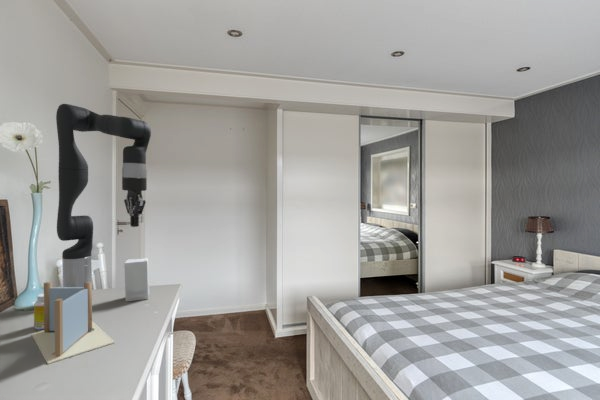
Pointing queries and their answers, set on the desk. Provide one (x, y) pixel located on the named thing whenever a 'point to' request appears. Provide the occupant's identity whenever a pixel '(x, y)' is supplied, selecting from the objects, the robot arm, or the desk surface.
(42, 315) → the supplement bottle
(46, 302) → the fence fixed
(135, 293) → the skincare box
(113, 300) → the desk surface
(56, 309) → the fence panel
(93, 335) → the card
